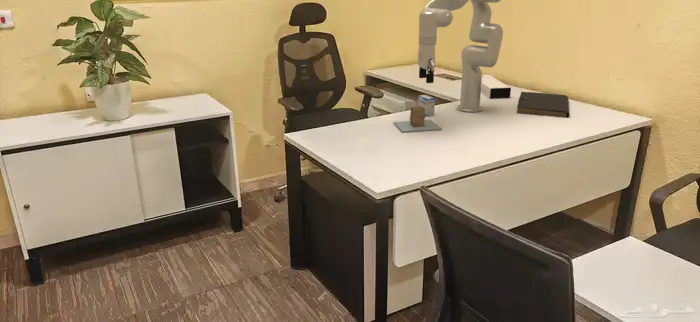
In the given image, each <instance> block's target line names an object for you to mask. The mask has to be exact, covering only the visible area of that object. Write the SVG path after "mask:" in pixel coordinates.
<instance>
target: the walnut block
mask: <svg viewBox="0 0 700 322" xmlns="http://www.w3.org/2000/svg"><path fill="white" fill-rule="evenodd" d="M409 117H410V118H409V121H410V124H411V125H412V126H413V127H423V126H424V120H426V119H425V117H426V116H425V109H424V108H423V107H422V106H417V105H416V106H410V116H409Z"/></svg>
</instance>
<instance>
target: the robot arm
mask: <svg viewBox="0 0 700 322" xmlns="http://www.w3.org/2000/svg"><path fill="white" fill-rule="evenodd" d="M469 1H470V3H471V5H472V8H473V14H472V19H471V23H470V29H469V33H468V38H469V40H470V41H471V42H474V43H478V44H487V46H484V45H478V44H477V45H476V44H469V45H466V46H465V47H463V49H462V50H461V55H460V56H461V64H462V65H461V66H462V71H461V73H462V74H461V88H460V90H461V91H460V99H459V100H460V102H459V104H457V105H456V109H457V110H458V111H461V112H464V113H465V112H466V113H477V112H481V111H483V106H482V105H481V104H480V103H481V94H482V93H481V82H482V75H483V73H482V69H481V67H483V68H493V67H495V65H496V64H497V62H498V59H499V55H500V50H501V46H502V42H503V36H504V30H503V27H502V26H501V25H500V24H499V23H491V20H492V9H491V6H490V5H489V3H491V4H493V3H494V4H496V3H500V2H501V1H502V0H430V2H428V4H426V5H425V6H424V7H423V9H422V10H421V11H420V13H419V16H418V51H417V52H418V53H417V66H418V70H419V71H418V79H425V83H426V84H433V83H435V82H434V78H435V67H436V45H437V32H438V31H437V30H438V28H447V27H448V26H450V25H451V24H452V22H453V19H454V16H453V13H452V12H453V11H457V10H460V9H462V8H463V7H464V6H465V5H467V3H468V2H469Z"/></svg>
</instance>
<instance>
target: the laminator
mask: <svg viewBox="0 0 700 322" xmlns="http://www.w3.org/2000/svg"><path fill="white" fill-rule="evenodd" d="M511 91H512V87H510V86H508V85H506V84H505V83H504V82H502V81H501V80H498V79H497V78H495V77H494V76H492V75H490V74H482V82H481V94H482V95H484V96H485V97H486V98H487V99H489V100H490V99H491V100H492V99H510V97H511Z"/></svg>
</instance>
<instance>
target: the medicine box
mask: <svg viewBox="0 0 700 322" xmlns="http://www.w3.org/2000/svg"><path fill="white" fill-rule="evenodd" d="M417 105H418V106H422V107H423V108H424V109H425V117H432V116H435V108H436V107H435V106H436V98H435V97H432V96H430V95H427V94H421V95H418V102H417Z"/></svg>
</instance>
